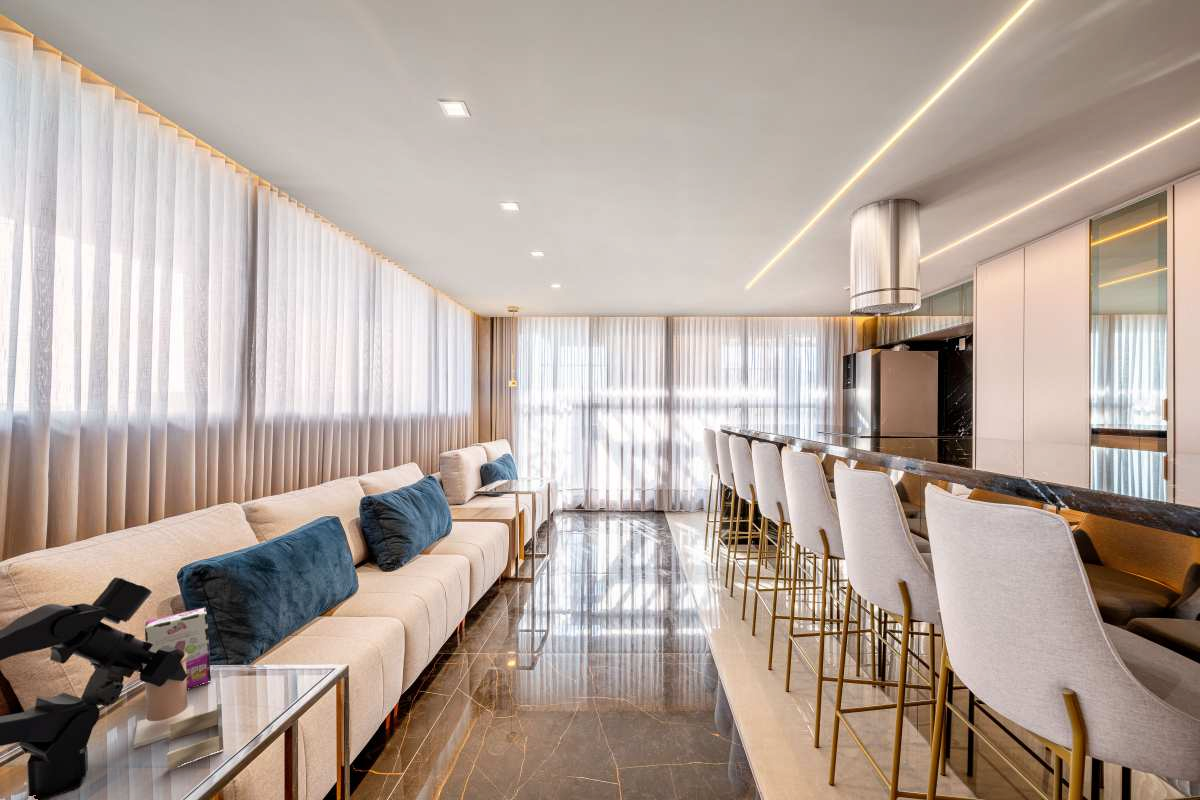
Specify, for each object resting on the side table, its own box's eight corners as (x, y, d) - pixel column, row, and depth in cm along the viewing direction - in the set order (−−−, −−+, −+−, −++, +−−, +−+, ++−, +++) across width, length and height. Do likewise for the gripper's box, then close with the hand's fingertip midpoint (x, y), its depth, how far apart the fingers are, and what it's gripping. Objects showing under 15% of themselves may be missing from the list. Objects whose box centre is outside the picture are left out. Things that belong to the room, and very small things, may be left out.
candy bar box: (209, 674, 127) (206, 606, 127) (211, 683, 123) (208, 612, 123) (148, 692, 120) (145, 620, 120) (148, 702, 116) (144, 627, 116)
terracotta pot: (158, 725, 103) (156, 670, 103) (135, 718, 105) (134, 664, 105) (197, 705, 109) (195, 653, 109) (175, 699, 112) (173, 648, 112)
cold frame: (168, 771, 94) (165, 720, 94) (170, 738, 103) (168, 692, 103) (223, 751, 99) (221, 703, 99) (221, 721, 108) (219, 677, 108)
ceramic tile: (133, 748, 101) (133, 744, 101) (137, 725, 108) (137, 721, 108) (193, 729, 106) (193, 725, 106) (193, 708, 113) (193, 704, 113)
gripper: (36, 683, 96) (112, 710, 106) (98, 702, 89) (173, 729, 100) (89, 622, 103) (156, 653, 114) (150, 635, 97) (215, 666, 107)
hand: (173, 675), depth 108 cm, fingers closed on terracotta pot, 6 cm apart
